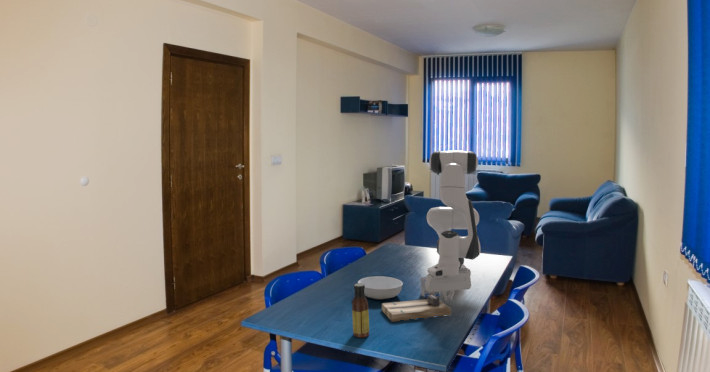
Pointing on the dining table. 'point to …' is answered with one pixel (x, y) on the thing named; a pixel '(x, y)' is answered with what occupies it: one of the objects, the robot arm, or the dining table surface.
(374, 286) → the serving bowl
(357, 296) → the sauce bottle
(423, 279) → the medicine box
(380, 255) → the dining table surface
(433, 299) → the fader
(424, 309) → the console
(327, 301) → the dining table surface
